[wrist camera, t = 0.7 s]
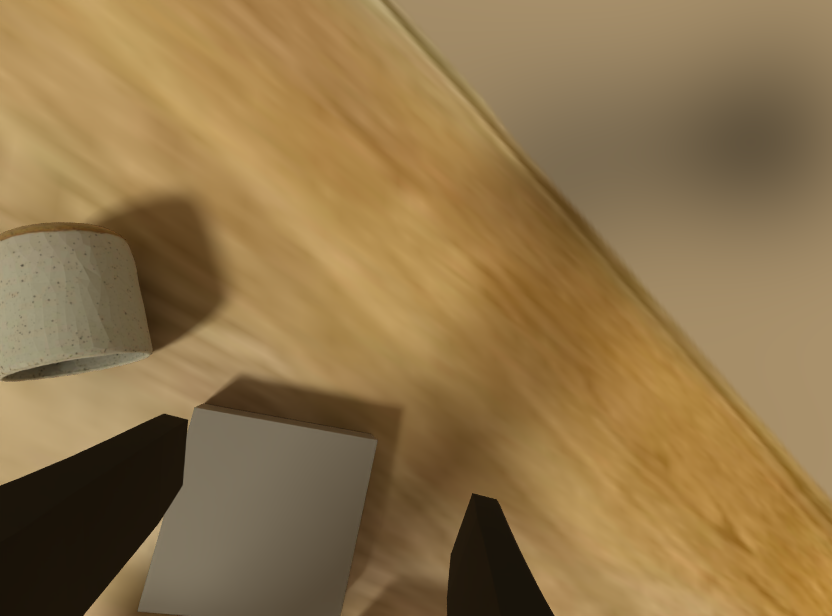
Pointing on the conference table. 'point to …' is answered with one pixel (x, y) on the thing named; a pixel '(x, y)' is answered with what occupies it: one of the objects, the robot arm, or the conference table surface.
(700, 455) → the conference table surface
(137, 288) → the ceramic mug
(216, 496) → the gray plinth
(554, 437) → the conference table surface
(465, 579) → the robot arm
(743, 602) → the conference table surface
